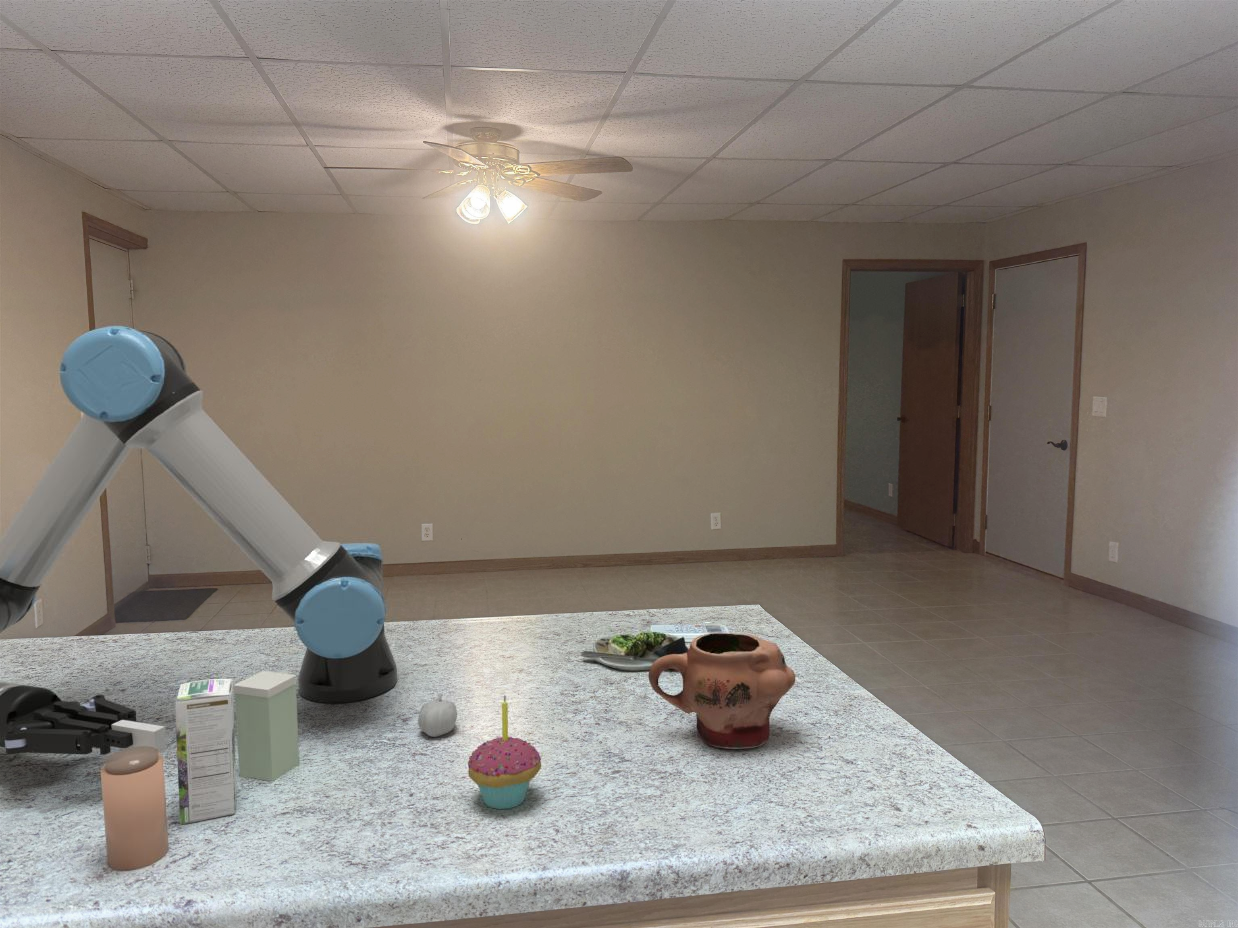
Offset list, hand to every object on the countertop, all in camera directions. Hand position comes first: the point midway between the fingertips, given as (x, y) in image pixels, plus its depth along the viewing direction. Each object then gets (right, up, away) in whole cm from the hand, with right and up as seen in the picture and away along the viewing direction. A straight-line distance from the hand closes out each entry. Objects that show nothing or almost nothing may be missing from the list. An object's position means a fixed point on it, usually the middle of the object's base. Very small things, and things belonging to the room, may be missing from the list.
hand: (160, 740), depth 98 cm
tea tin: (+9, -7, +8) cm, 14 cm away
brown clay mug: (+68, -6, +17) cm, 70 cm away
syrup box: (+6, -8, -1) cm, 10 cm away
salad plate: (+58, -2, +51) cm, 77 cm away
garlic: (+28, -6, +19) cm, 35 cm away
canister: (+3, -9, -10) cm, 14 cm away
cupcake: (+40, -8, +1) cm, 41 cm away
